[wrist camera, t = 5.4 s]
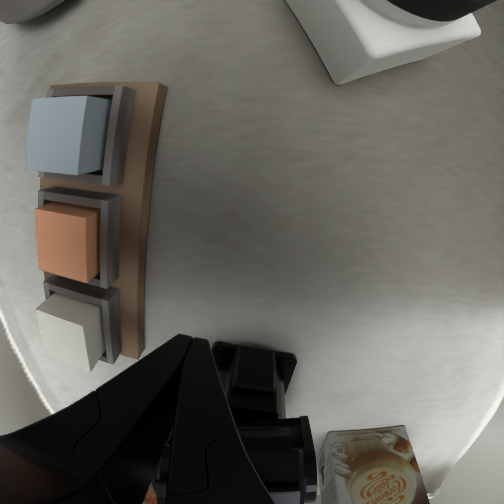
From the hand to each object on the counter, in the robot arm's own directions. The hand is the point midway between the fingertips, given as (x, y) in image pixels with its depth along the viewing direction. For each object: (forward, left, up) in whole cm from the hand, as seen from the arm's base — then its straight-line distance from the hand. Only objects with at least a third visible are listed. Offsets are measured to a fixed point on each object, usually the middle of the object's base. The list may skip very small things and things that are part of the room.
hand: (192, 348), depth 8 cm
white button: (-8, +10, -9) cm, 16 cm away
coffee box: (-21, -17, -12) cm, 30 cm away
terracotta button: (-1, +10, -11) cm, 15 cm away
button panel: (-2, +10, -12) cm, 16 cm away
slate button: (+5, +10, -9) cm, 15 cm away
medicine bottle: (+15, -5, -12) cm, 20 cm away
